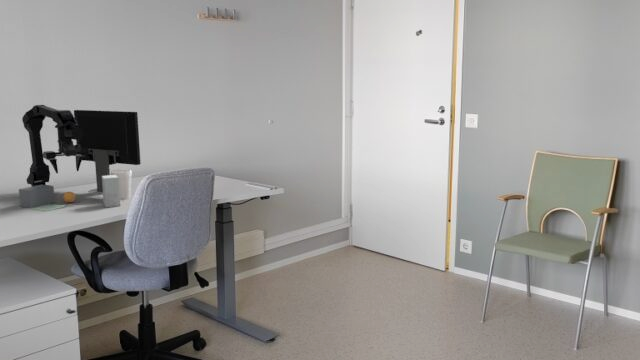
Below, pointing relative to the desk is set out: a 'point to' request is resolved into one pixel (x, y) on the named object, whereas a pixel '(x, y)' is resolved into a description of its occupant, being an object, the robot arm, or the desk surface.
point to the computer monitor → (108, 139)
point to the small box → (111, 190)
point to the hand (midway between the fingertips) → (67, 172)
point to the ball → (69, 196)
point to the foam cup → (123, 182)
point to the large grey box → (36, 196)
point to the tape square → (47, 207)
